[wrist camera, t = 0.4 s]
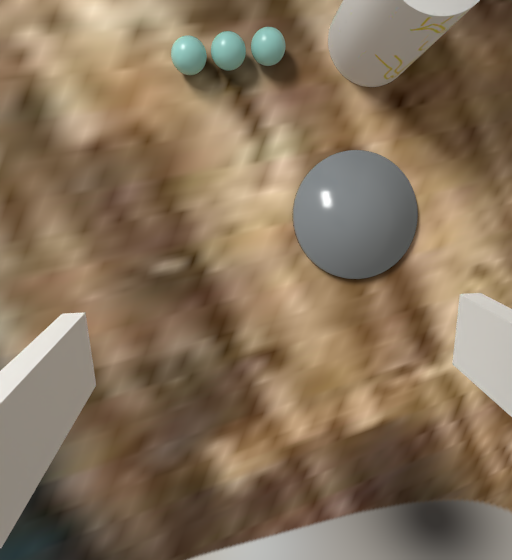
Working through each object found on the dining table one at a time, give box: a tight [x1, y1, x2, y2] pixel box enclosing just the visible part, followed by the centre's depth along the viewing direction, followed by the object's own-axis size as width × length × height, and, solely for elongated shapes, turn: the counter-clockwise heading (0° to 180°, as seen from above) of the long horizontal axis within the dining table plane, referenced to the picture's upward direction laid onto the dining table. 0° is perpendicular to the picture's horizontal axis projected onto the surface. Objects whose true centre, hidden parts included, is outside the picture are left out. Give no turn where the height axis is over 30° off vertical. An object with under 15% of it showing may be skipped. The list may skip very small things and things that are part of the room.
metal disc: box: [293, 150, 418, 279], centre depth 40 cm, size 12×12×1 cm
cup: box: [328, 0, 480, 87], centre depth 34 cm, size 8×8×12 cm
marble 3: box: [171, 36, 207, 75], centre depth 36 cm, size 3×3×3 cm
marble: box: [251, 27, 285, 66], centre depth 37 cm, size 3×3×3 cm
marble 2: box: [211, 31, 246, 71], centre depth 37 cm, size 3×3×3 cm
